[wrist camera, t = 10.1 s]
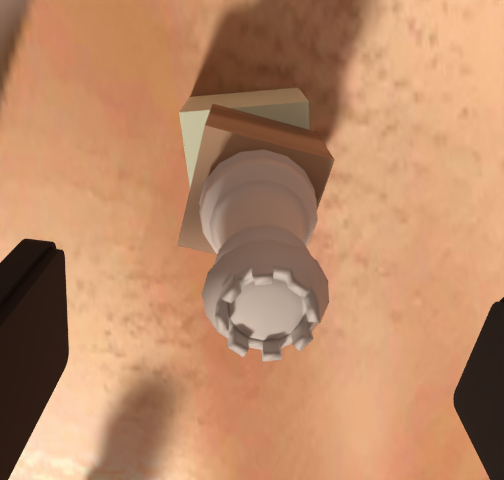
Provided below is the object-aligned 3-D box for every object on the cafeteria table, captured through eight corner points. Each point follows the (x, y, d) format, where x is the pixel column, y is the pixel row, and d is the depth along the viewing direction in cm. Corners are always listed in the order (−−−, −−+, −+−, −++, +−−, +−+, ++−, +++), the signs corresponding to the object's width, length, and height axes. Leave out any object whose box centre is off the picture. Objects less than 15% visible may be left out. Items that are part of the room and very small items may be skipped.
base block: (190, 96, 27) (179, 112, 22) (298, 87, 27) (308, 101, 22) (203, 198, 29) (196, 231, 25) (302, 189, 29) (312, 221, 25)
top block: (212, 103, 22) (204, 125, 17) (316, 131, 23) (334, 159, 18) (189, 202, 24) (177, 245, 19) (285, 225, 25) (295, 273, 20)
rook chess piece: (203, 141, 18) (176, 226, 10) (322, 151, 18) (378, 241, 11) (197, 249, 20) (171, 386, 12) (306, 257, 20) (343, 396, 12)
